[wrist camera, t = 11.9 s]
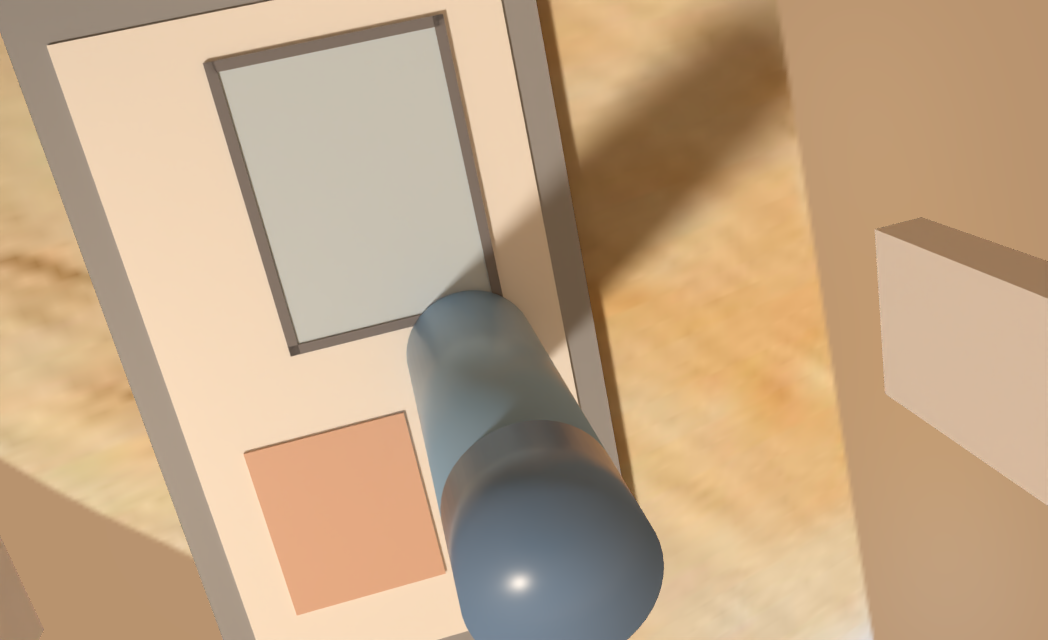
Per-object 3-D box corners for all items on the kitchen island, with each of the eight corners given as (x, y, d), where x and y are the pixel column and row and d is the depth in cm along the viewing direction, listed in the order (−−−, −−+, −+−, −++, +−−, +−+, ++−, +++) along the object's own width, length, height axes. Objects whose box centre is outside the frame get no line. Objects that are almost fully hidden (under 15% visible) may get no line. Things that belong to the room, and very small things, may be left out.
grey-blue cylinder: (391, 310, 28) (435, 529, 16) (518, 274, 28) (645, 464, 17) (425, 425, 29) (486, 696, 18) (546, 389, 29) (678, 632, 18)
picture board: (-6, -6, 24) (-18, -8, 23) (512, -106, 26) (518, -110, 25) (257, 717, 32) (255, 734, 31) (640, 604, 33) (648, 618, 33)
